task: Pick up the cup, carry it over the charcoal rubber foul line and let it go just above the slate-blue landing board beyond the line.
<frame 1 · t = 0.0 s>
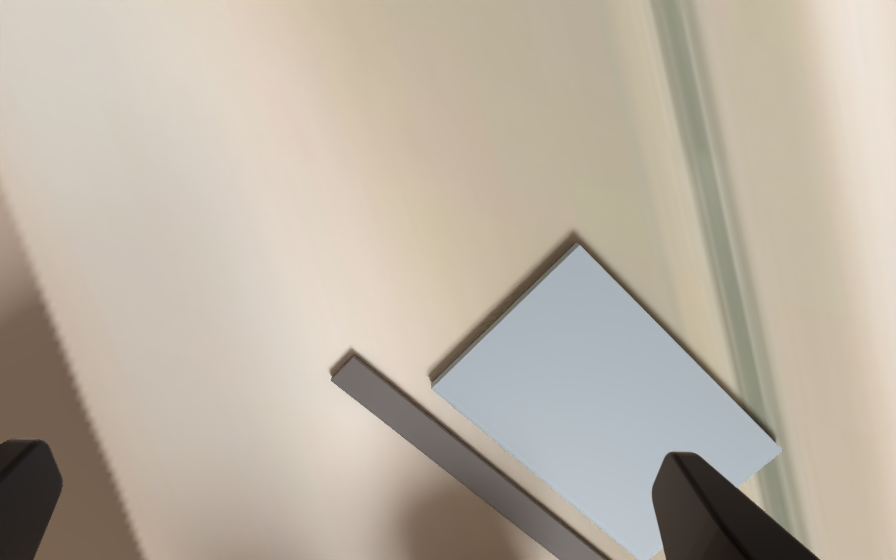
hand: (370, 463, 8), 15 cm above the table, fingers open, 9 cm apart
foul line: (513, 502, 27), on the table
landing board: (611, 415, 26), on the table
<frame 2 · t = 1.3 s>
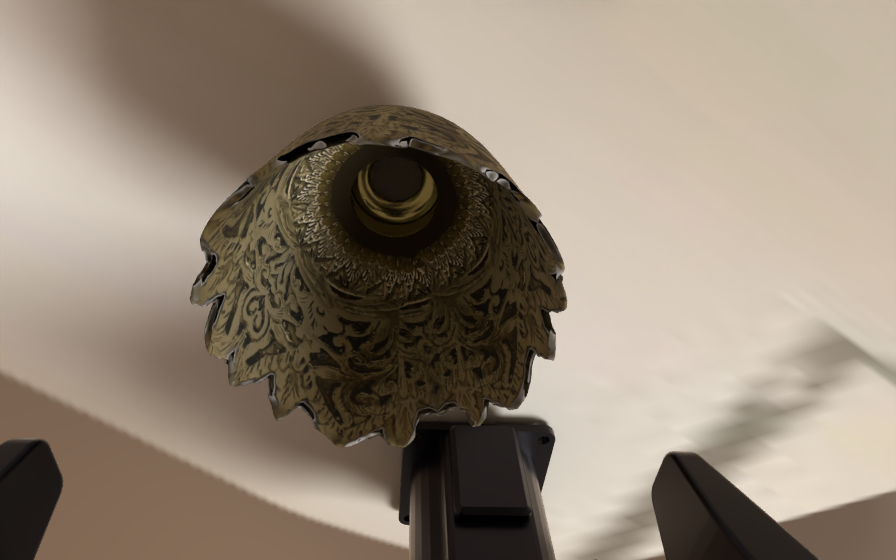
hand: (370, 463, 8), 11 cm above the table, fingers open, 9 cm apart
cup: (396, 175, 18), on the table
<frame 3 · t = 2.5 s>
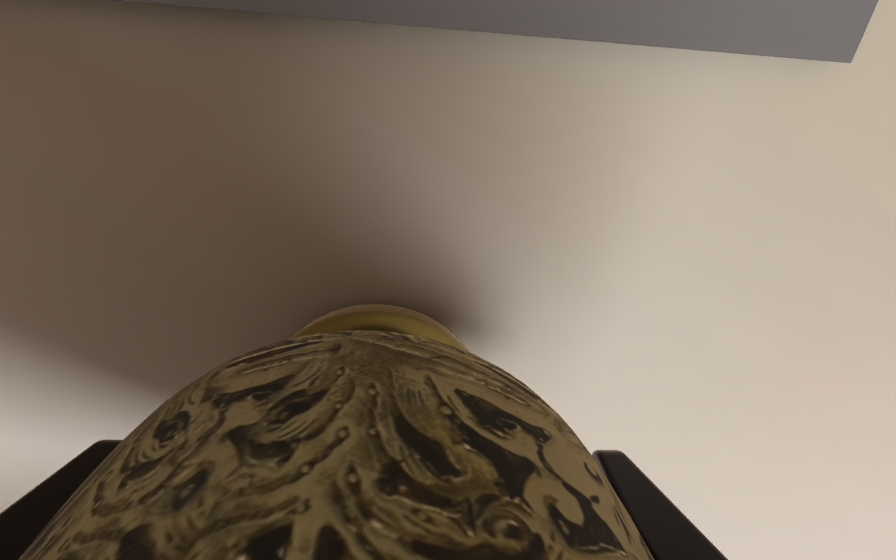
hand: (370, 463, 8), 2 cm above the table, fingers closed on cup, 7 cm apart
cup: (379, 364, 10), on the table, touching gripper
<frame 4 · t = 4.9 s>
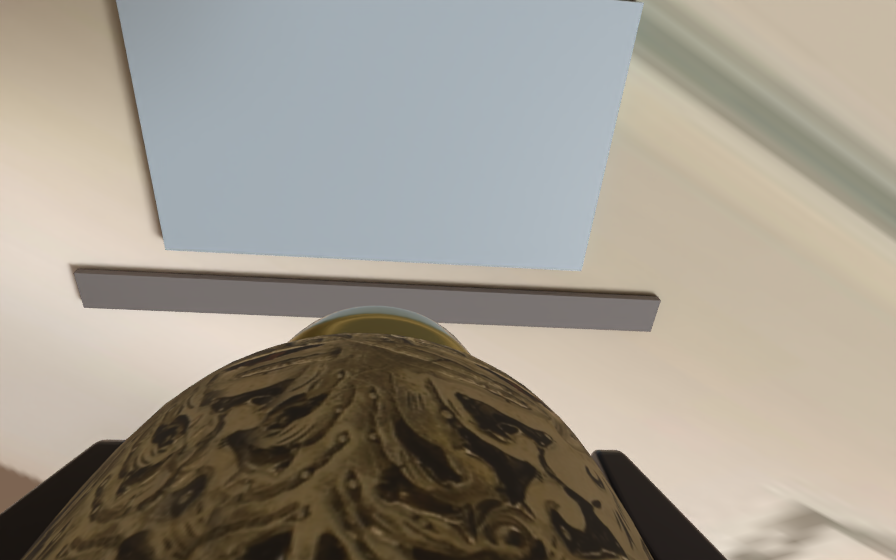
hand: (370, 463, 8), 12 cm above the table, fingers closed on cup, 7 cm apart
cup: (379, 366, 10), point 10 cm above the table, touching gripper
foul line: (379, 299, 21), on the table
landing board: (383, 133, 18), on the table
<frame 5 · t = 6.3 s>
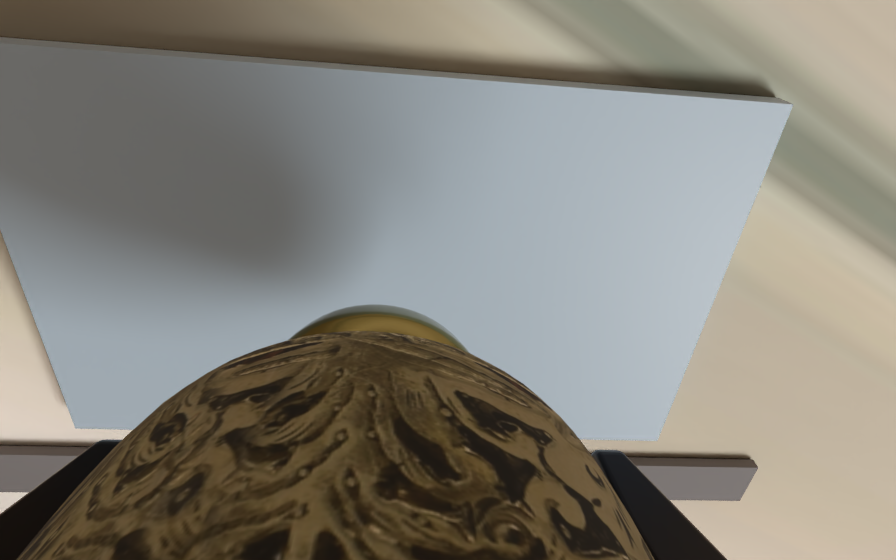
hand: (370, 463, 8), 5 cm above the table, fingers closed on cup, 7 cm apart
cup: (378, 365, 10), point 3 cm above the table, touching gripper
foul line: (379, 470, 16), on the table
landing board: (384, 277, 12), on the table
when the fingers open (4 cm above the table, at t = 7.5 s): cup drops 1 cm, resting on landing board.
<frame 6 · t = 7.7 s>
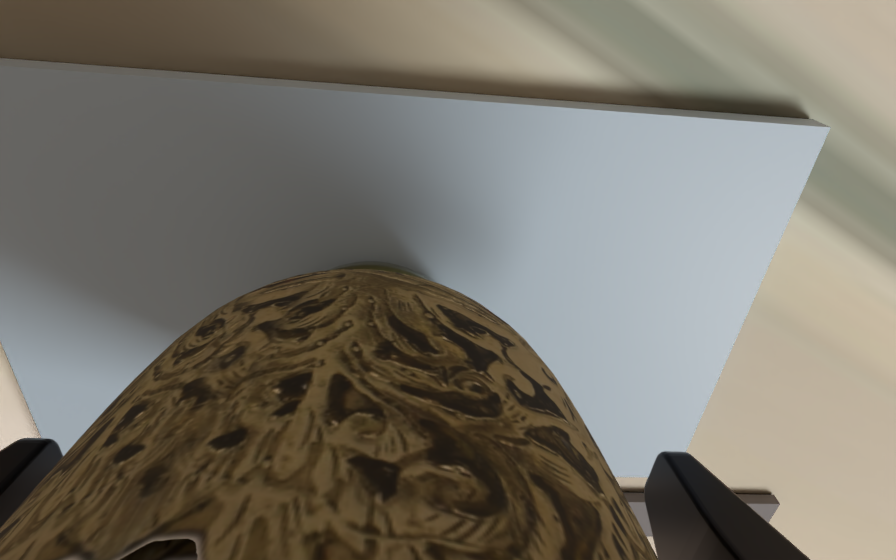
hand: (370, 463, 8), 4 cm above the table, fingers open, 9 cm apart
cup: (375, 320, 11), resting on landing board
foul line: (378, 507, 15), on the table
landing board: (384, 309, 12), on the table
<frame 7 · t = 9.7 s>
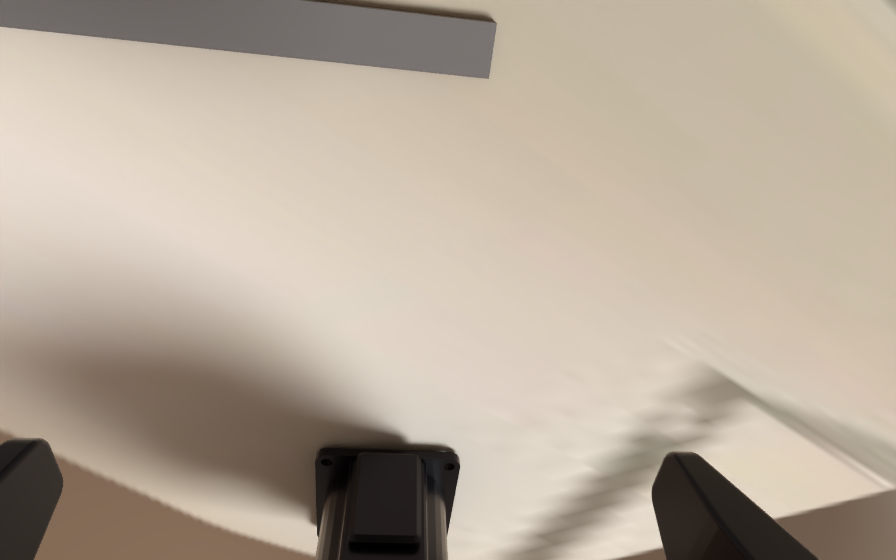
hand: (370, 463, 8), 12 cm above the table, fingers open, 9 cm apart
foul line: (91, 4, 15), on the table
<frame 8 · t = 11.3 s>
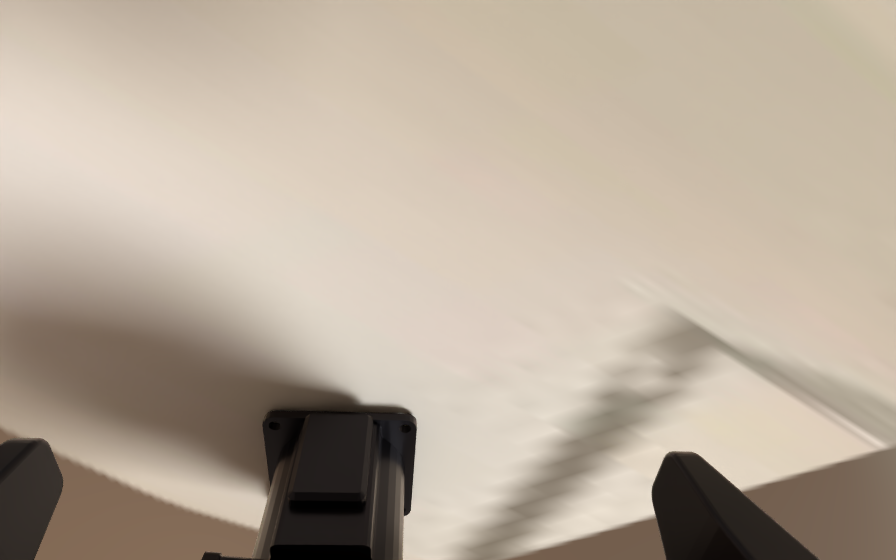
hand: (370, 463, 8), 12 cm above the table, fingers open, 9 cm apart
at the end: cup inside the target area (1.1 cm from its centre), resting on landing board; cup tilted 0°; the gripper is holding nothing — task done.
